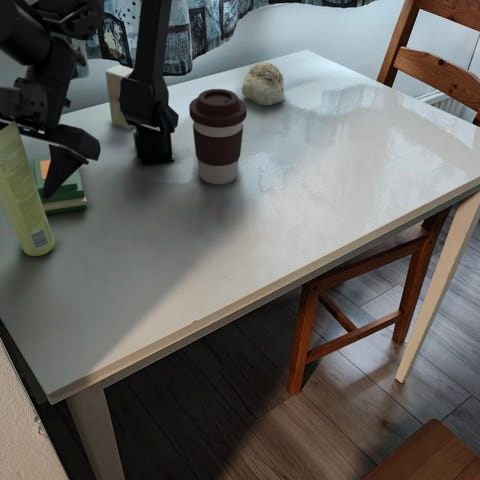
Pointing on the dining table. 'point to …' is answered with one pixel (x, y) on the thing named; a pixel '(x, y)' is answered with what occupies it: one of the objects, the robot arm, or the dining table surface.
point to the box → (116, 93)
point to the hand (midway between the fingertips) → (17, 191)
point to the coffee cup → (218, 134)
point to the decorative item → (264, 84)
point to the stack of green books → (66, 195)
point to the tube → (22, 195)
